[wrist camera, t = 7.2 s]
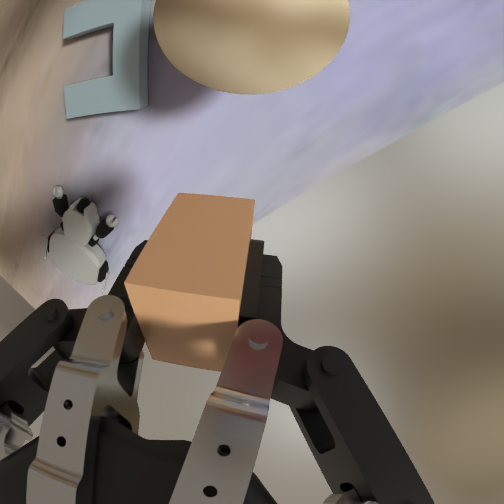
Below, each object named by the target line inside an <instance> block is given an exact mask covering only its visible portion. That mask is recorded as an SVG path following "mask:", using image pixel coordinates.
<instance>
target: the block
mask: <svg viewBox="0 0 504 504" xmlns="http://www.w3.org/2000/svg"><path fill="white" fill-rule="evenodd" d="M254 204H255V200H252V199H243V198H234V197H223V196H213V195H201V194H189V193H178V194H177V196H176V197H175V199H174V200H173V202H172V204H171V205H170V207H169V208H168V210H167V211H166V213H165V214H164V216H163V217H162V219H161V221H160V222H159V224H158V225H157V227H156V229H155V230H154V232H153V233H152V235H151V237H150V238H149V240H148V242H147V243H146V245H145V247H144V248H143V250H142V252H141V253H140V255H139V257H138V259H137V260H136V262H135V264H134V266H133V267H132V269H131V271H130V273H129V275H128V276H127V278H126V280H125V282H124V284H125V287H126V290H127V293H128V296H129V299H130V302H131V305H132V308H133V311H134V314H135V315H136V318H137V320H138V323H139V326H140V328H141V331H142V333H143V336H144V338H145V342H146V345H147V347H148V349H149V352H150V354H151V356H152V359H154V360H158V361H163V362H168V363H173V364H178V365H183V366H189V367H194V368H200V369H207V370H213V371H220V372H222V369H223V366H224V363H225V360H226V357H227V355H228V352H229V349H230V346H231V343H232V340H233V337H234V335H235V332H236V330H237V328H238V320H239V311H240V304H241V297H242V290H243V284H244V277H245V270H246V263H247V256H248V249H249V242H250V239H251V234H252V224H253V214H254Z"/></svg>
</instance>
